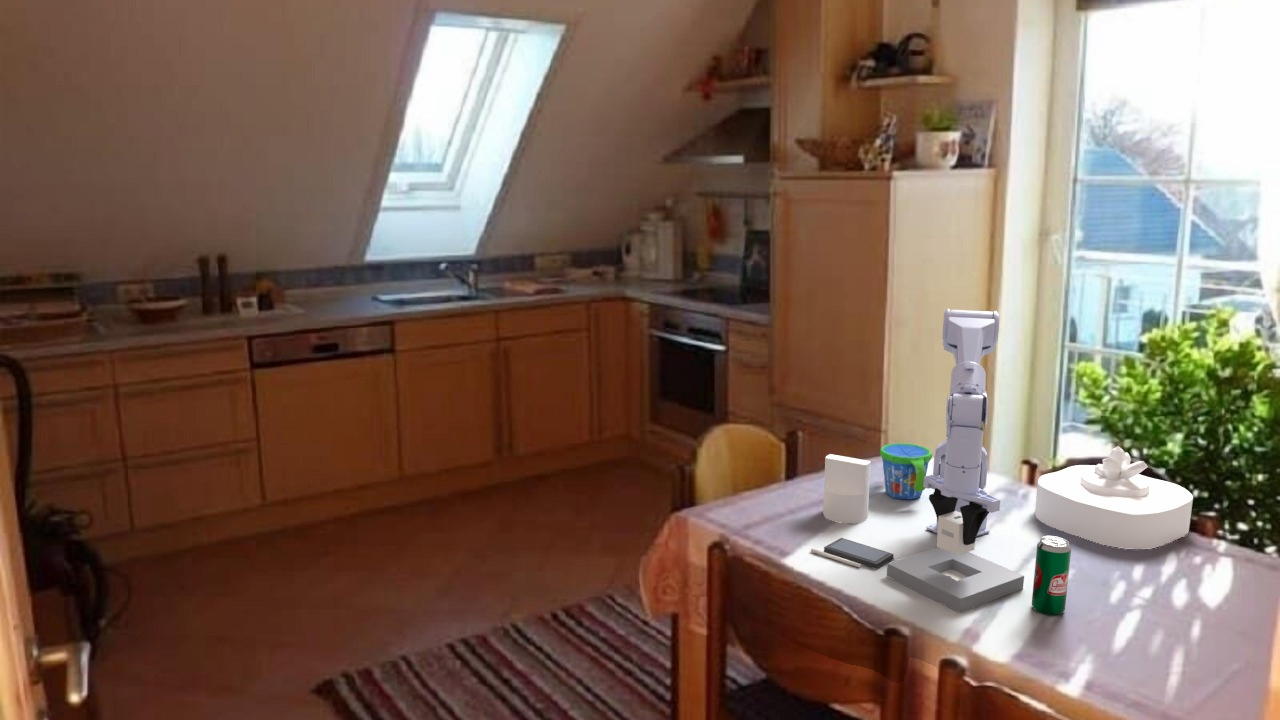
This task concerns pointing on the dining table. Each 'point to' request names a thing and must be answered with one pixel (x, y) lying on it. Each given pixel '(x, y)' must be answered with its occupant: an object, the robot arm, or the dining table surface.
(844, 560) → the tablet with stylus
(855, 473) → the white rounded block
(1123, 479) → the tissue box
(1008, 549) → the dining table surface
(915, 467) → the snack cup
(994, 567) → the socket plate
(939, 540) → the brick
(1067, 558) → the soda can
